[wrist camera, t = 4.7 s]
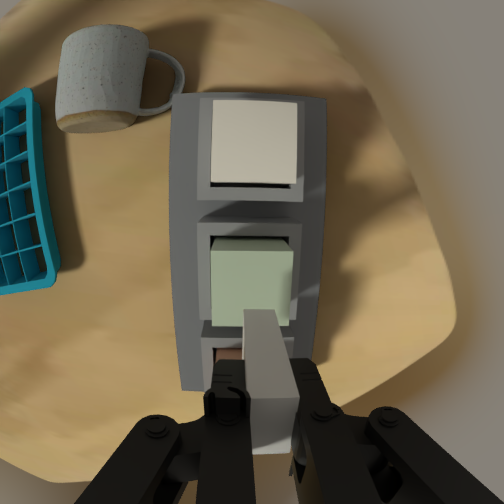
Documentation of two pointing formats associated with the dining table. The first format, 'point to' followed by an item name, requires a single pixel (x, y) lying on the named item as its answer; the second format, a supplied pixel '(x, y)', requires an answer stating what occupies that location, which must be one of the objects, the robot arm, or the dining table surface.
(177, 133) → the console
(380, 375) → the dining table surface
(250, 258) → the sage key
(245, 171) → the ivory key
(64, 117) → the ceramic mug
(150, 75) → the dining table surface
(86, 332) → the dining table surface
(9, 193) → the ice cube tray
